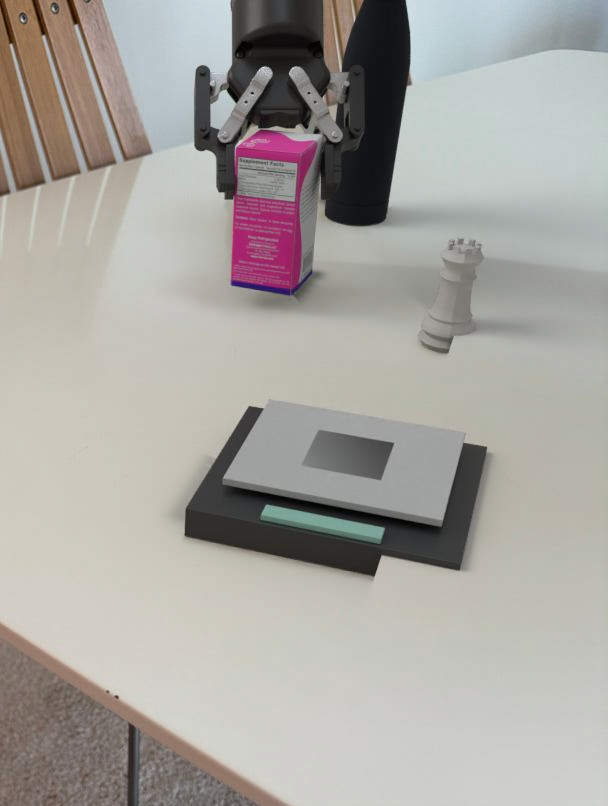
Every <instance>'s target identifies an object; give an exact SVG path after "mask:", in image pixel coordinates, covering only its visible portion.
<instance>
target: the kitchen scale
mask: <svg viewBox="0 0 608 806" xmlns="http://www.w3.org/2000/svg"><path fill="white" fill-rule="evenodd" d="M466 436H467V432H466V431H461V430H454V429H449V428H442V427H437V426H431V425H425V424H420V423H419V424H418V423H414V422H406V421H402V420H395V419H390V418H389V419H388V418H383V417H378V416H371V415H366V414H360V413H353V412H348V411H342V410H336V409H331V408H326V407H325V408H324V407H318V406H312V405H308V404H307V405H306V404H300V403H296V402H295V403H294V402H289V401H283V400H277V399H268V401H267V402H266V404H265V406H264V407H258V406H253V405H248V407H247V408H246V409H245V411H244V413H243V415H242V416H241V418H240V420H239V421H238V423H237V425H235V428H234V430H233V431H232V432H231V434H230V436H229V437H228V439H227V441H226V442H225V444H224V445H223V446H222V448H221V451H219V454H218V455H217V457H216V458H215V460H214V462H213V463H212V465H211V467H210V468H209V470H208V472H207V473H206V474H205V476H204V478H203V479H202V481H201V482H200V484H199V485H198V488H197V489H196V491H195V492H194V494H193V495H192V497H191V499H190V500H189V502H188V503H187V505H186V507H185V510H184V511H185V512H184V513H185V514H184V534H183V535H184V537H189V538H193V539H197V540H202V541H207V542H212V543H216V544H221V545H226V546H232V547H236V548H241V549H244V550H245V549H246V550H250V551H255V552H259V553H260V552H261V553H265V554H269V555H274V556H279V557H284V558H287V559H288V558H289V559H293V560H298V561H302V562H307V563H311V564H317V565H320V566H325V567H330V568H335V569H341V570H345V571H350V572H354V573H360V574H364V575H369V576H376V574H377V571H378V568H379V565H380V562H381V559H382V556H385V557H390V558H396V559H399V560H400V559H401V560H404V561H405V560H406V561H410V562H415V563H420V564H425V565H430V566H434V567H440V568H443V569H449V570H455V571H460V570H461V566H462V562H463V557H464V553H465V550H466V549H465V548H466V544H467V540H468V535H469V530H470V526H471V522H472V517H473V513H474V509H475V504H476V499H477V495H478V492H479V491H478V490H479V486H480V482H481V478H482V473H483V468H484V464H485V460H486V455H487V451H488V446H485V445H480V444H474V443H469V442H465V440H466V439H465V438H466Z"/></svg>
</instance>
